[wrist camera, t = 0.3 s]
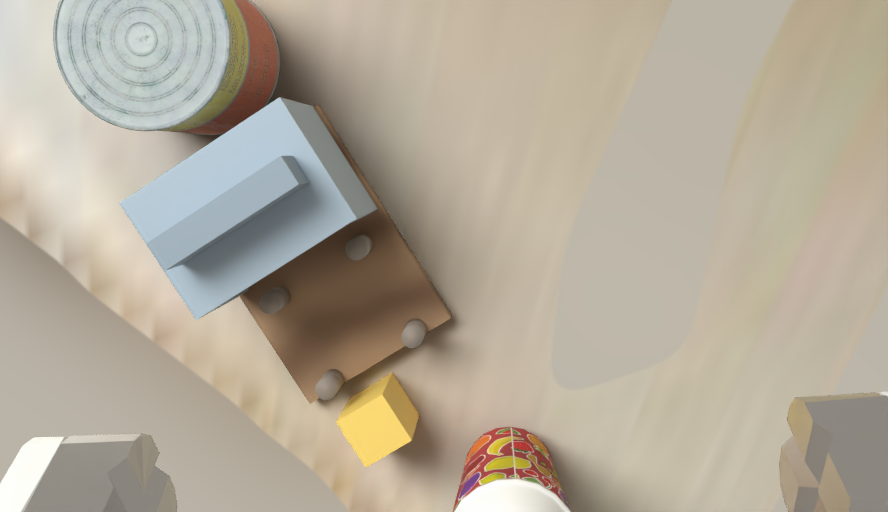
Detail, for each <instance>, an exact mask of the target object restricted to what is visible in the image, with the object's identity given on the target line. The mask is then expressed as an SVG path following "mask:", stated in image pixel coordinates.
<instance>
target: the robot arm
mask: <svg viewBox="0 0 888 512" xmlns="http://www.w3.org/2000/svg"><path fill="white" fill-rule="evenodd" d="M787 421H788V424H789V426H790V428H791V431H792V433H793V436H792V437H791V438H790V439H789V440H788V441H786V442H785V443H784V444H783V445H782V449H781V456H780V462H779V469H780V483H781V489H782V493H783V497H784V501H785V505H786V507H787V510H788V512H888V392H880V393H858V394H842V395H827V396H811V397H796V398H795V399H794V400H793V402H792V403H791V405H790V408H789V413H788V417H787ZM158 456H159V451H158V449H157V447H156V445H155V443H154V440H153V438H152V436H151V435H146V434H116V435H115V434H114V435H78V436H69V437H34V438H33V439H31V440H30V441H28V442H27V443H26V444H24V445H23V446H22V448H21V449H20V451H19V453H18V454H17V456H16V458H15V460H14V461H13V463H12V464H11V466H10V468H9V470H8V471H7V473H6V475H5V476H4V478H3V480H2V481H1V483H0V512H177V500H176V494H175V488H174V486H173V483H172V481H171V479H170V476H169V475H167V474H166V473H164V472H163V471H161V470H160V469H158V468H157V467H155V463H156V461H157V458H158Z"/></svg>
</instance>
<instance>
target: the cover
mask: <svg viewBox="0 0 888 512" xmlns="http://www.w3.org/2000/svg"><path fill="white" fill-rule="evenodd" d="M119 204H120V205H121V207H122V208H123V210H124V211H125V213H126V214H127V216H128V217H129V219H130V220H131V222H132V223H133V225H134V226H135V228H136V229H137V231H138V233H139V234H140V236H141V237H142V239H143V240H144V242H145V243H146V245H147V246H148V248H149V249H150V251H151V252H152V254H153V255H154V257H155V258H156V260H157V261H158V263H159V264H160V266H161V267H162V269H163V270H164V272H165V273H166V275H167V277H168V278H169V280H170V281H171V283H172V284H173V286H174V287H175V289H176V290H177V292H178V293H179V295H180V296H181V298H182V299H183V301H184V302H185V304H186V305H187V307H188V308H189V310H190V311H191V313H192V314H193V316H194V317H195V319H196V320H197V319H199V318H201V317H203V316H204V315H206V314H208V313H210V312H212V311H213V310H215V309H217V308H219V307H221V306H223V305H224V304H226V303H228V302H230V301H232V300H233V299H235V298H237V297H239V296H241V295H242V294H244V293H245V292H247V291H248V290H249V289H248V287H250V286H252V285H253V284H255V283H256V282H258V281H259V280H261V279H263V278H264V277H266V276H267V275H269V274H270V273H272V272H274V271H275V270H277V269H278V268H280V267H282V266H283V265H285V264H286V263H288V262H289V261H291V260H293V259H294V258H296V257H297V256H299V255H301V254H302V253H304V252H305V251H307V250H308V249H310V248H312V247H313V246H315V245H316V244H318V243H319V242H321V241H323V240H324V239H326V238H327V237H329V236H331V235H332V234H334V233H335V232H337V231H338V230H340V229H342V228H343V227H345V226H346V225H348V224H350V223H352V222H354V221H356V220H358V219H360V218H362V217H364V216H366V215H369V214H370V213H372V212H373V211H375V210H377V207H376V206H375V204H374V202H373V201H372V199H371V198H370V196H369V194H368V193H367V191H366V190H365V188H364V187H363V185H362V183H361V182H360V180H359V179H358V177H357V175H356V174H355V172H354V171H353V169H352V168H351V166H350V164H349V163H348V161H347V160H346V158H345V157H344V155H343V153H342V152H341V150H340V149H339V147H338V145H337V144H336V142H335V141H334V139H333V138H332V136H331V134H330V133H329V131H328V130H327V128H326V127H325V125H324V123H323V122H322V120H321V119H320V117H319V115H318V114H317V112H316V111H315V109H314V108H313V106H311V105H307V104H303V103H300V102H296V101H292V100H289V99H285V98H281V97H279V98H277V99H276V100H274V101H273V102H271V103H270V104H268V105H267V106H265V107H264V108H262V109H261V110H259V111H258V112H256V113H255V114H253V115H252V116H250V117H249V118H247V119H246V120H244V121H243V122H241V123H240V124H238V125H237V126H235V127H234V128H232V129H231V130H229V131H228V132H226V133H225V134H223V135H222V136H220V137H219V138H217V139H215V140H214V141H212V142H211V143H209V144H208V145H206V146H205V147H203V148H202V149H200V150H199V151H197V152H196V153H194V154H193V155H191V156H190V157H188V158H187V159H185V160H184V161H182V162H181V163H179V164H178V165H176V166H175V167H173V168H172V169H170V170H169V171H167V172H166V173H164V174H163V175H161V176H160V177H158V178H157V179H155V180H154V181H152V182H151V183H149V184H147V185H146V186H144V187H143V188H141V189H140V190H138V191H137V192H135V193H134V194H132V195H131V196H129V197H128V198H126V199H125V200H123V201H122V202H120V203H119Z"/></svg>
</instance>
